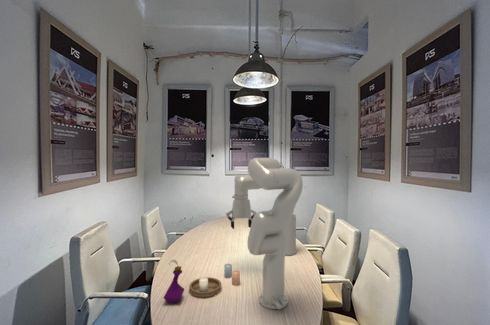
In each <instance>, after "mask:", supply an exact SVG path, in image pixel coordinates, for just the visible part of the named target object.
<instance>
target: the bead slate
mask: <svg viewBox="0 0 490 325" xmlns="http://www.w3.org/2000/svg"><path fill="white" fill-rule="evenodd" d="M232 271H233V264H231V263H225V264H224V272H223V274H224V278H225V279H230V278H231V279H232Z"/></svg>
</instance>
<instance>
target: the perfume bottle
mask: <svg viewBox="0 0 490 325" xmlns="http://www.w3.org/2000/svg"><path fill="white" fill-rule="evenodd" d="M171 263H174V264H176V266H175V267H174V270H172V271H173V272H172V274H173V279H172V280H171V283H170V285H169V287H168V289H167V290H166V292H165V294H164V296H163V299H164V300H165V301H166V302H167V303H168V304H179V303H180V301H181V298H182V296H183V294H184V292H185V288H184V287H183V286H181V285H180V284H179V282H178V280H179V276H180V275H181V274H182V273H183V269H182V266H181V265H179V264H178V261H177V260H176V259H174V258H173V259H172V260H170V261H169V264H168V265H171Z"/></svg>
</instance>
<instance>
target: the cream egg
mask: <svg viewBox="0 0 490 325" xmlns="http://www.w3.org/2000/svg"><path fill="white" fill-rule="evenodd" d="M206 277H207V276H206ZM206 277H203V276H202V277H201V278H200V277H199V278H200V279H199V278H198V279H199V292H208V278H206Z"/></svg>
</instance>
